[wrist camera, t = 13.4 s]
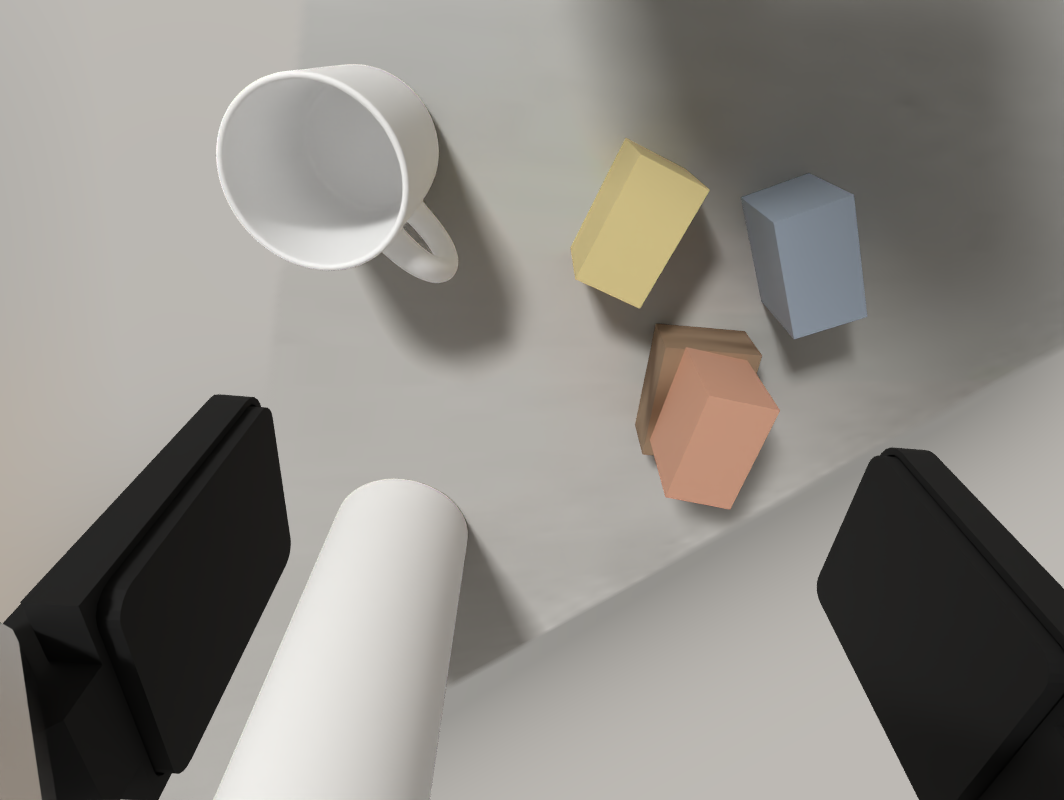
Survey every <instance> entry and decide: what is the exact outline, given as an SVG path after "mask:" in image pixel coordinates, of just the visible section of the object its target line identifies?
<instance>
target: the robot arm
mask: <svg viewBox="0 0 1064 800" xmlns="http://www.w3.org/2000/svg"><path fill="white" fill-rule="evenodd" d="M290 546H291V540H290V532H289V526H288V519H287V512H286V505H285V498H284V492H283V485H282V478H281V471H280V464H279V458H278V451H277V444H276V437H275V430H274V424H273V417H272V413H271V411H270V409H268V408H264V407H261V405H260V403H259V401H258V400H257V399H256V398H255V397H244V396H232V395H214V396H212V397H211V398H210V399H209V400H208V401H207V402H206V403H205V404H204V405H203V406H202V407H201V408H200V410H199V411H198V412H197V413H196V414H195V415H194V416H193V417H192V418H191V419H190V420H189V421H188V422H187V424H186V425H185V426H184V427H183V428H182V429H181V430H180V431H179V432H178V433H177V434H176V435H175V436H174V438H173V439H172V440H171V441H170V442H169V443H168V444H167V445H166V446H165V447H164V448H163V449H162V450H161V451H160V453H159V454H158V455H157V456H156V457H155V458H154V459H153V460H152V461H151V462H150V463H149V464H148V465H147V467H146V468H145V469H144V470H143V471H142V472H141V473H140V474H139V475H138V476H137V477H136V478H135V479H134V481H133V482H132V483H131V484H130V485H129V486H128V487H127V488H126V489H125V490H124V491H123V492H122V493H121V494H120V496H119V497H118V498H117V499H116V500H115V501H114V502H113V503H112V504H111V505H110V506H109V507H108V509H107V510H106V511H105V512H104V513H103V514H102V515H101V516H100V517H99V518H98V519H97V520H96V521H95V522H94V524H93V525H92V526H91V527H90V528H89V529H88V530H87V531H86V532H85V533H84V534H83V535H82V537H81V538H80V539H79V540H78V541H77V542H76V543H75V544H74V545H73V546H72V547H71V548H70V550H68V551H67V553H66V554H65V555H64V556H63V557H62V558H61V559H60V560H59V561H58V562H57V563H56V564H55V565H54V567H53V568H52V569H51V570H50V571H49V572H48V573H47V574H46V575H45V576H44V577H43V578H42V580H41V581H40V582H39V583H38V584H37V585H36V586H35V587H34V588H33V589H32V590H31V591H30V592H29V594H28V595H27V596H26V597H25V598H24V599H23V600H22V601H21V604H20V605H19V606H18V608H17V609H16V610H15V611H14V612H13V613H12V614H11V615H10V616H9V617H8V618H7V619H6V621H5V622H4V623H3V624H2V623H1V622H0V800H120V799H128V800H158V799H159V798H160V796H161V794H162V792H163V790H164V788H165V786H166V784H167V782H168V780H169V778H170V776H171V774H172V773H176V774H179V773H181V772H182V771H184V769H185V768H186V767H187V766H188V764H189V762H190V760H191V759H192V757H193V755H194V753H195V751H196V748H197V746H198V744H199V742H200V740H201V738H202V736H203V734H204V732H205V730H206V728H207V726H208V724H209V722H210V720H211V718H212V716H213V714H214V712H215V709H216V707H217V705H218V703H219V701H220V699H221V697H222V695H223V693H224V691H225V689H226V687H227V685H228V683H229V681H230V679H231V677H232V675H233V673H234V670H235V668H236V666H237V664H238V662H239V660H240V658H241V656H242V654H243V652H244V650H245V648H246V646H247V644H248V642H249V640H250V638H251V636H252V634H253V631H254V629H255V627H256V625H257V623H258V621H259V619H260V617H261V615H262V613H263V611H264V609H265V607H266V605H267V603H268V601H269V599H270V597H271V595H272V592H273V590H274V588H275V586H276V584H277V582H278V580H279V578H280V576H281V574H282V572H283V570H284V568H285V566H286V564H287V561H288V558H289V554H290ZM817 594H818V598H819V600H820V603H821V605H822V607H823V609H824V611H825V613H826V615H827V617H828V619H829V621H830V623H831V625H832V627H833V629H834V631H835V633H836V635H837V637H838V639H839V641H840V643H841V645H842V647H843V649H844V651H845V653H846V655H847V657H848V659H849V661H850V663H851V665H852V667H853V669H854V671H855V673H856V675H857V677H858V679H859V681H860V683H861V685H862V687H863V689H864V691H865V693H866V695H867V697H868V699H869V701H870V703H871V705H872V707H873V709H874V711H875V713H876V715H877V717H878V718H879V720H880V723H881V724H882V727H883V728H884V731H885V733H886V735H887V737H888V739H889V741H890V743H891V745H892V747H893V749H894V751H895V753H896V755H897V757H898V759H899V760H900V763H901V765H902V767H903V768H904V771H905V773H906V775H907V777H908V779H909V781H910V783H911V785H912V786H913V789H914V791H915V792H916V795H917V797H918V798H919V800H1064V589H1063V588H1062V586H1061V585H1060V584H1059V583H1058V582H1057V581H1056V580H1055V579H1054V578H1053V577H1052V576H1051V575H1050V574H1049V573H1048V572H1047V571H1046V570H1045V569H1044V568H1043V567H1042V566H1041V565H1040V564H1039V563H1038V561H1037V560H1036V559H1035V558H1034V557H1033V556H1032V555H1031V554H1030V553H1029V552H1028V551H1027V550H1026V549H1025V548H1024V547H1023V546H1022V545H1021V544H1020V543H1019V542H1018V541H1017V540H1016V539H1015V538H1014V536H1013V535H1012V534H1011V533H1010V532H1009V531H1008V530H1007V529H1006V528H1005V527H1004V526H1003V525H1002V524H1001V523H1000V522H999V521H998V520H997V519H996V518H995V517H994V516H993V515H992V514H991V513H990V512H989V510H987V508H986V507H985V506H984V505H983V504H982V503H981V502H980V501H979V500H978V499H977V498H976V497H975V496H974V495H973V494H972V493H971V492H970V491H969V490H968V489H967V487H966V486H965V485H963V483H962V482H961V481H960V480H959V479H958V478H957V477H956V476H955V475H954V474H953V473H952V472H951V471H950V470H949V469H948V468H947V467H946V466H945V465H944V464H943V462H942V461H940V459H939V458H938V457H937V456H936V455H935V454H933V453H932V452H930V451H926V450H916V449H902V448H888V449H886V450H885V451H883V453H881V455H880V456H876V457H874V458H872V459H871V461H870V462H869V464H868V466H867V469H866V471H865V473H864V475H863V477H862V480H861V482H860V484H859V487H858V489H857V491H856V493H855V496H854V498H853V500H852V502H851V505H850V507H849V509H848V511H847V514H846V516H845V518H844V521H843V523H842V525H841V527H840V529H839V532H838V534H837V536H836V539H835V541H834V543H833V545H832V548H831V550H830V552H829V554H828V557H827V559H826V561H825V563H824V566H823V568H822V570H821V572H820V575H819V577H818V581H817Z"/></svg>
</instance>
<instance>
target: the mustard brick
mask: <svg viewBox="0 0 1064 800" xmlns="http://www.w3.org/2000/svg"><path fill="white" fill-rule="evenodd" d="M709 191H710V190H709V189H708V188H707V187H706V186H705V185H703V184H702V183H701V182H700V181H699V180H698V179H697V178H695V177H694V176H693V175H692V174H691V173H690V172H688V171H687V170H686V169H685V168H683V167H681V166H679V165H677V164H675V163H673V162H671V161H669V160H667V159H665V158H663V157H661V156H660V155H658V154H656V153H654V152H652V151H650V150H648V149H646V148H644V147H642V146H640V145H638V144H637V143H635V142H633V141H631V140H629V139H627V138H625V140H624V142H623V144H622V146H621V148H620V150H619V152H618V154H617V156H616V158H615V160H614V162H613V164H612V166H611V168H610V170H609V172H608V174H607V176H606V178H605V180H604V182H603V184H602V186H601V188H600V190H599V192H598V194H597V196H596V198H595V200H594V202H593V204H592V206H591V208H590V210H589V212H588V214H587V216H586V218H585V220H584V222H583V224H582V226H581V228H580V230H579V232H578V234H577V236H576V238H575V240H574V242H573V244H572V246H571V253H572V260H573V267H574V273H575V279H576V280H578V281H581V282H583V283H585V284H587V285H589V286H591V287H594V288H596V289H598V290H600V291H602V292H605V293H607V294H609V295H611V296H613V297H615V298H618V299H620V300H622V301H624V302H626V303H628V304H631V305H633V306H635V307H637V308H639V309H640V308H641V306H642V304H643V302H644V301H645V299H646V297H647V296H648V294H649V292H650V291H651V289H652V287H653V286H654V284H655V282H656V280H657V279H658V277H659V275H660V274H661V272H662V270H663V269H664V267H665V265H666V264H667V262H668V260H669V258H670V257H671V255H672V253H673V252H674V250H675V248H676V247H677V245H678V243H679V241H680V240H681V238H682V236H683V235H684V233H685V231H686V230H687V228H688V226H689V225H690V223H691V221H692V219H693V218H694V216H695V214H696V213H697V211H698V209H699V208H700V206H701V204H702V203H703V201H704V199H705V197H706V196H707V194H708V192H709Z"/></svg>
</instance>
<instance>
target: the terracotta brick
mask: <svg viewBox="0 0 1064 800" xmlns="http://www.w3.org/2000/svg"><path fill="white" fill-rule="evenodd" d="M779 412H780V410H779V408H778V407H777V405H776V404H775V402H774V400H773V399H772V397H771V396H770V394H769V393H768V391H767V390H766V388H765V387H764V385H763V384H762V382H761V380H760V379H759V377H758V376H757V374H756V373H755V371H754V370H753V368H752V367H751V365H750V364H749V362H748V361H747V360H743V359H738V358H734V357H729V356H725V355H720V354H715V353H711V352H706V351H702V350H697V349H693V348H688V347H686V348H685V351H684V354H683V356H682V359H681V361H680V364H679V366H678V369H677V372H676V374H675V377H674V379H673V382H672V384H671V387H670V389H669V392H668V395H667V397H666V400H665V402H664V405H663V407H662V410H661V413H660V415H659V418H658V420H657V423H656V425H655V428H654V430H653V433H652V436H651V438H650V442H651V446H652V450H653V453H654V457H655V461H656V464H657V468H658V472H659V475H660V479H661V482H662V486H663V490H664V493H665V497H667V498H673V499H678V500H683V501H688V502H693V503H699V504H704V505H709V506H714V507H719V508H725V509H731V507H732V505H733V503H734V501H735V499H736V497H737V495H738V493H739V491H740V489H741V487H742V485H743V483H744V481H745V479H746V477H747V475H748V473H749V471H750V469H751V467H752V465H753V463H754V461H755V459H756V457H757V455H758V453H759V451H760V449H761V447H762V445H763V443H764V441H765V439H766V438H767V436H768V434H769V432H770V430H771V428H772V426H773V424H774V422H775V420H776V418H777V416H778V414H779Z"/></svg>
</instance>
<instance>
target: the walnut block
mask: <svg viewBox="0 0 1064 800" xmlns="http://www.w3.org/2000/svg"><path fill="white" fill-rule="evenodd" d="M686 347H688V348H693V349H697V350H702V351H706V352H711V353H715V354H720V355H725V356H729V357H734V358H738V359H743V360H747V361H748V362H749V364H750V365H751V367H752V368H753V370H754V371H755V373H756V374H757V371H758V368H759V364H760V361H761V358H762V355H761V353H760V352H759V351H758V349H757V348H756V346H755V345H754V344H753V342H752V341H751V339H750V338H749V337H748V335H747V334H746V332H745V331H735V330H724V329H712V328H701V327H690V326H678V325H667V324H656V325H655V330H654V335H653V340H652V345H651V350H650V355H649V360H648V364H647V369H646V374H645V379H644V384H643V389H642V394H641V399H640V404H639V409H638V413H637V418H636V423H635V426H636V430H637V434H638V438H639V442H640V446H641V450H642V454H644V455H654V453H653V450H652V446H651V442H650V438H651V436H652V433H653V430H654V428H655V425H656V423H657V420H658V418H659V415H660V413H661V410H662V407H663V405H664V402H665V400H666V397H667V395H668V392H669V389H670V387H671V384H672V382H673V379H674V377H675V374H676V372H677V369H678V366H679V364H680V361H681V359H682V356H683V354H684V351H685V348H686Z"/></svg>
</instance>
